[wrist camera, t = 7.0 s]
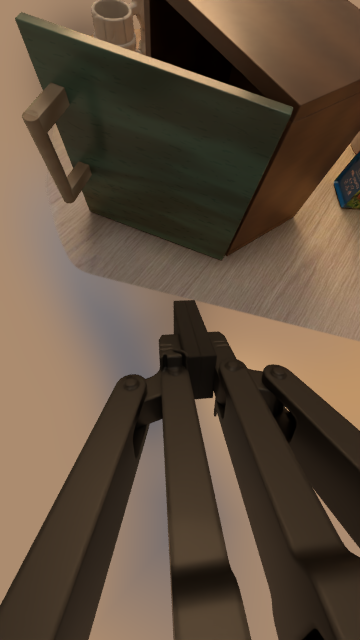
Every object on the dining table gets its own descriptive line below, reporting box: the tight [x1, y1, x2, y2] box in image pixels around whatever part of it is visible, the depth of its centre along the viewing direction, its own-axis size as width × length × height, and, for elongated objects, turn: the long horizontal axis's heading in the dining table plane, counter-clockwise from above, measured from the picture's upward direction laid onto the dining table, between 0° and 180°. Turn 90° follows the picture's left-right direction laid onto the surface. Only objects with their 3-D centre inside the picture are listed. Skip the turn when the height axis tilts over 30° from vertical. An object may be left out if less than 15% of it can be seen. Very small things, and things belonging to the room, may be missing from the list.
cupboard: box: [144, 0, 360, 256], centre depth 31 cm, size 15×22×20 cm
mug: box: [91, 0, 146, 56], centre depth 41 cm, size 8×12×12 cm, turn 135°
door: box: [15, 13, 293, 260], centre depth 26 cm, size 6×22×20 cm, turn 69°
